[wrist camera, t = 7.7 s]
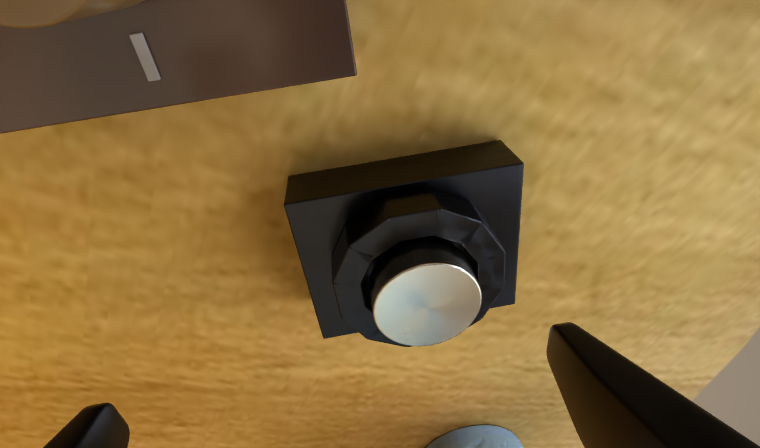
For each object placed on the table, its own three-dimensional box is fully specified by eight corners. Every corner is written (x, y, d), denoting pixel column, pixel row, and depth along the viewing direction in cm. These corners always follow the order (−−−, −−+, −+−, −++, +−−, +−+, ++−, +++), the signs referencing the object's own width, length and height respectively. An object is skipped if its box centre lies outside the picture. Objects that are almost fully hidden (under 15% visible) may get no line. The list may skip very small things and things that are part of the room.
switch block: (500, 139, 19) (544, 182, 16) (496, 271, 24) (529, 330, 20) (287, 175, 19) (279, 228, 15) (323, 302, 23) (323, 368, 20)
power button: (468, 229, 17) (482, 254, 15) (469, 307, 19) (482, 336, 18) (361, 248, 17) (365, 275, 15) (376, 325, 19) (380, 355, 18)
